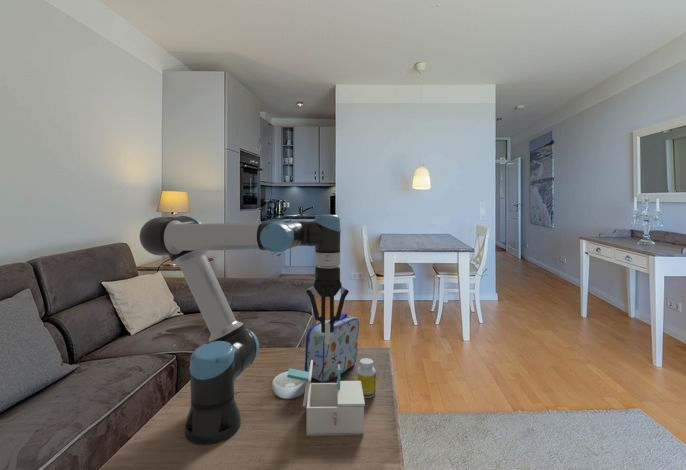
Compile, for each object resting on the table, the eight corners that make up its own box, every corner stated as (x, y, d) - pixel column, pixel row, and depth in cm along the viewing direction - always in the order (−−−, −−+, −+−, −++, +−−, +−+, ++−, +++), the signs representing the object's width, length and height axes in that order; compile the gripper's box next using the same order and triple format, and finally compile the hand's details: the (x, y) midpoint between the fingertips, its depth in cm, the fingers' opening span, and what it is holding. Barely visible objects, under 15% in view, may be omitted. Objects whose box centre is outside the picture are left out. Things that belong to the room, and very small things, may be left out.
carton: (305, 440, 96) (306, 412, 95) (309, 407, 112) (309, 383, 111) (364, 440, 96) (364, 412, 96) (359, 406, 112) (359, 382, 112)
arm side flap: (305, 406, 98) (281, 401, 97) (308, 383, 111) (287, 379, 110) (310, 380, 97) (287, 376, 97) (313, 360, 110) (292, 356, 110)
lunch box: (340, 356, 151) (341, 306, 150) (361, 361, 146) (362, 310, 144) (301, 382, 128) (301, 323, 126) (324, 390, 123) (324, 328, 121)
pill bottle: (374, 399, 117) (375, 366, 116) (355, 397, 118) (355, 364, 117) (376, 390, 123) (377, 358, 122) (358, 388, 124) (358, 356, 124)
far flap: (360, 382, 111) (361, 362, 111) (364, 406, 98) (365, 383, 98) (336, 383, 111) (337, 362, 111) (337, 406, 98) (338, 383, 98)
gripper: (305, 268, 101) (305, 347, 103) (350, 268, 102) (349, 347, 103) (306, 264, 109) (306, 338, 110) (348, 264, 109) (348, 338, 111)
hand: (327, 342), depth 107 cm, fingers closed
